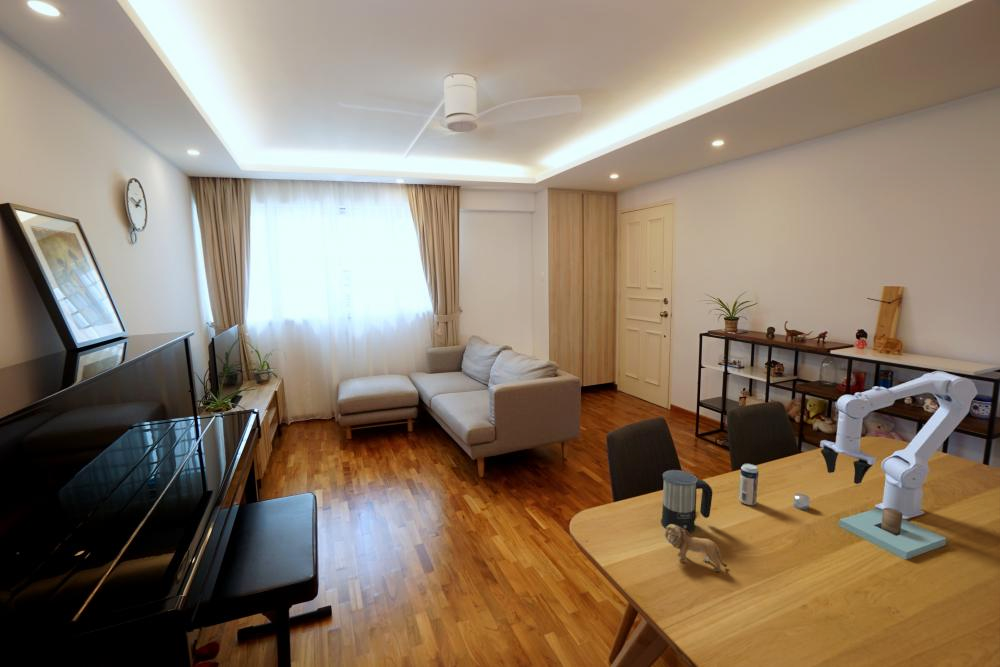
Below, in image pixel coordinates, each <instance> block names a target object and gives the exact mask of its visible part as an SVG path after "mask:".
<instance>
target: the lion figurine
mask: <svg viewBox="0 0 1000 667" xmlns="http://www.w3.org/2000/svg"><path fill="white" fill-rule="evenodd" d="M664 537H665V539H666V541H667V542H668V543H669V544H670V545H672V547H673V548H674V549H677V550H678V549H679V551H678V552H677V556H678V555H679V557H680V558H679V559H678V561H679V562H680V563H681V562H683V563H685V561H686V560H687V559H686V558H687V557H686V556H687V553H688V551H691V552H694V553H703V552H704V553H705V555H706V556H707V557H703V559H702V560H704V561H703V562H705V561H707V562H706V563H708V561H709V562H710V561H711V562H712V563H713V564H714V565H715V567H714V568H713V569H715V570H716V571H719V572H720V571H721V566H723V567H724V568H727V567H728V565H727V564H726V563H724V562H723V560H722V559H723V558H722V554H721V551H720V549H719V547H718V545H717V544H716V543H715V541H713V540H712V539H709V538H703V537H701V538H700V537H695V536H693V535H692V534H691V533H689V532H688V531H686V530H684V529H682V528H681V527H679V526H677V525H674V524H670V525H668V526H667V527H666V528H665V532H664ZM716 553H717V555H716ZM716 556H717V557H718V558H717V557H716ZM715 570H714V571H715ZM716 571H715V572H716Z"/></svg>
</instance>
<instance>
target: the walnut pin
mask: <svg viewBox="0 0 1000 667" xmlns="http://www.w3.org/2000/svg"><path fill="white" fill-rule="evenodd" d="M902 516H903V514H902V513H901V512H900V511H898V510H895V509H892V508H884V509H883V515H882V523H881V529H883V530H885V531H887V532H889V533H891V534H893V535H895V536H898V535H900V531H901V523H902V519H903V518H902Z"/></svg>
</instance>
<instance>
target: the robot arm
mask: <svg viewBox="0 0 1000 667" xmlns="http://www.w3.org/2000/svg"><path fill="white" fill-rule="evenodd" d="M926 393H929V394H933V396H934V397H935V398H936V400H937V402H938V405H939V407H938V408H937V410H936V411H935V412H934V413H933V414H932V416H931V417H930V418H929V419H928V420H927V422H926V423H925V424H924V425H923V427H922V428H921V429H920V430H919V431H918V432H917V434H916V435H915V436H914V437H913V438H912V439H911V441H910V442H909V444H907V446H906V447H905V448H904V449H899V450H895V451H894V452H893V453H892V454H891V455H889V456H888V457H886V458H884V459H883V460H882V462H881V466H880V467H881V470H882V471H883V472H884V473H885V474H884V477H885V481H884V482H885V483H884V488H883V489H884V490H883V495H882V496H883V497H882V502H880V503H877V504H875V505H874V506H875V508H879V509H881V510H883V509H884V508H892V509H895V510H898V511H900V512H901V513H902V514H903V516H902V519H904V520H908V519H911V518H914V517H918V516H921V515H924V514H925V511H923V510H922V504H923V495H924V491H923V488H922V486H923V485H924V484H925V482H926V478H927V477H928V474H929V473H930V467H929V464H928V461H929V460H930V458H932V457H933V455H934V454H935V453H936V451H937V450H938V449H939V448H940V447H941V445H943V443H944V442H945V441H946V440H947V438H948V437H949V436H950V435H951V433H953V431H954V430H955V429H956V428H957V426H959V424H961V422H962V421H963V420H964V418H965V417H966V416H967V415H968V414H969V412H970V409H971V404H972V401H973V399H974V398H976V396H977V395H978V394H979V392H978V389H977V388H976V385H975V383H974V381H973V380H971V379H970V378H967V377H962V376H958V375H955V374H950V373H948V372H945V371H943V370H936V371H932V372H929V373H924V374H923V375H922V376H920V377H917V378H914V379H912V380H909V381H906V382H904V383H900V384H898V385H895V386H892V387H889V388H886V387H883V386H877V385H876V386H873V387H872V388H871V389H869V390H865V391H863V392H855V393H854V394H853V395H852V394H844V395H841V396H840V397H839V398H838V399H837V401H835V402H834V405H835V407H836V409H837V410H838V418H837V429H836V436H835V442H833V441H830V440H829V441H828V440H826V439H823V440H821V441H820V442H819V443H820V444H819V447H820V448H821V450H820V453H821V455H822V457H823V459H824V461H825V464H826V469H827V473H829V474H832V473H835V471H836V465H837V459H838V457H839V456H838V455H839V454H841V455H845V456H848V457H851V458H852V459H853V458H854V459H856V460H854V461H853V462H852V464H853V467H854V476H853V483H854V484H856V485H859V484H861V483H862V482H863V479H864V477H865V475H866V474H867V472H868V471H869V470H870V468H872V467H873V465H876V462H877V457H876V456H873V455H870V454H868V453H866V452H864V451H863V450H860V449H861V448H860V446H861V437H862V429H863V421H864V420H863V419H864V418H865V417H867V416H868V414H869V413H871V412H872V411H876V410H879V409H883V408H886V407H890V406H892V405H894V403H895V401H896V400H900V399H903V398H907V397H908V398H909V397H911V396H912V397H913V396H917V395H921V394H926Z"/></svg>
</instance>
